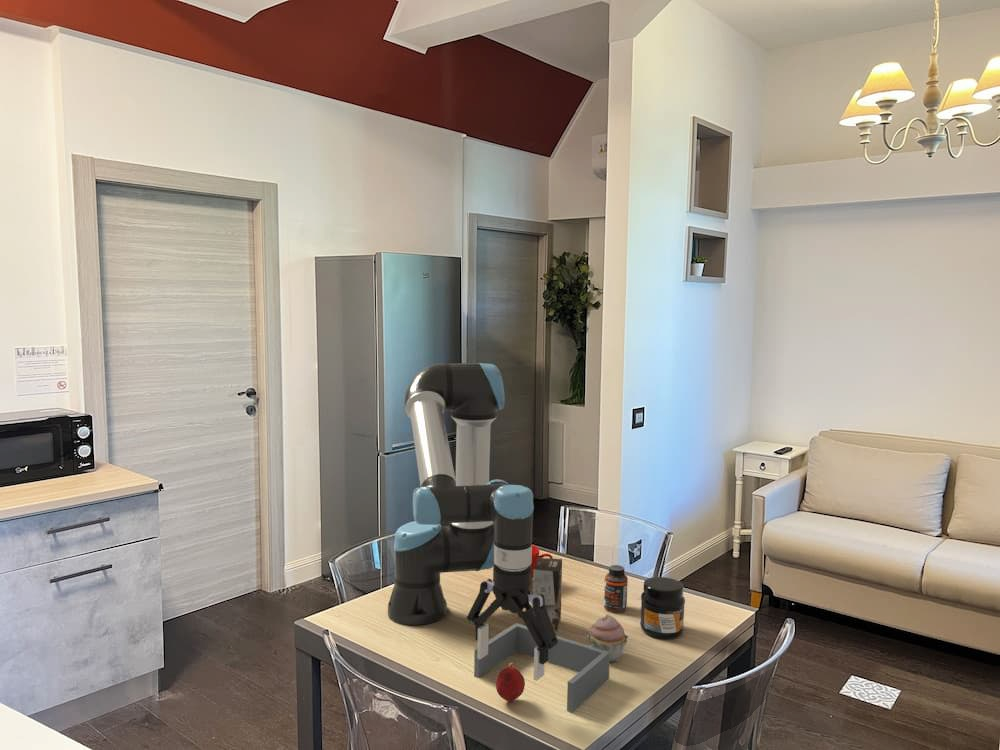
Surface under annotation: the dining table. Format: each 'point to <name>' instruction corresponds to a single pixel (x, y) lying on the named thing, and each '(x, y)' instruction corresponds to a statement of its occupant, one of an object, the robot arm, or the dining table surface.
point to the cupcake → (608, 637)
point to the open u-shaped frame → (551, 661)
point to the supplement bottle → (615, 589)
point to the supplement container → (662, 608)
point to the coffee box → (549, 587)
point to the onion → (510, 683)
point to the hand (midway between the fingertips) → (510, 666)
